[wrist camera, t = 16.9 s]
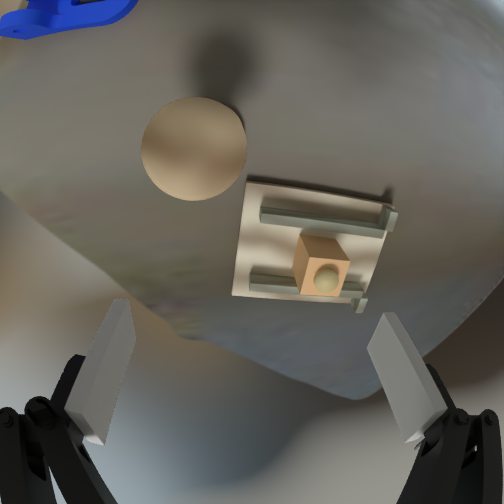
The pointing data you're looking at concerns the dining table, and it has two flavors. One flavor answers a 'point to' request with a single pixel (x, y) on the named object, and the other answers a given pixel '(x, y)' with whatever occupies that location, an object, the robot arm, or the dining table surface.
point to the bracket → (61, 17)
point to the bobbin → (194, 148)
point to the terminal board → (312, 224)
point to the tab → (319, 266)
